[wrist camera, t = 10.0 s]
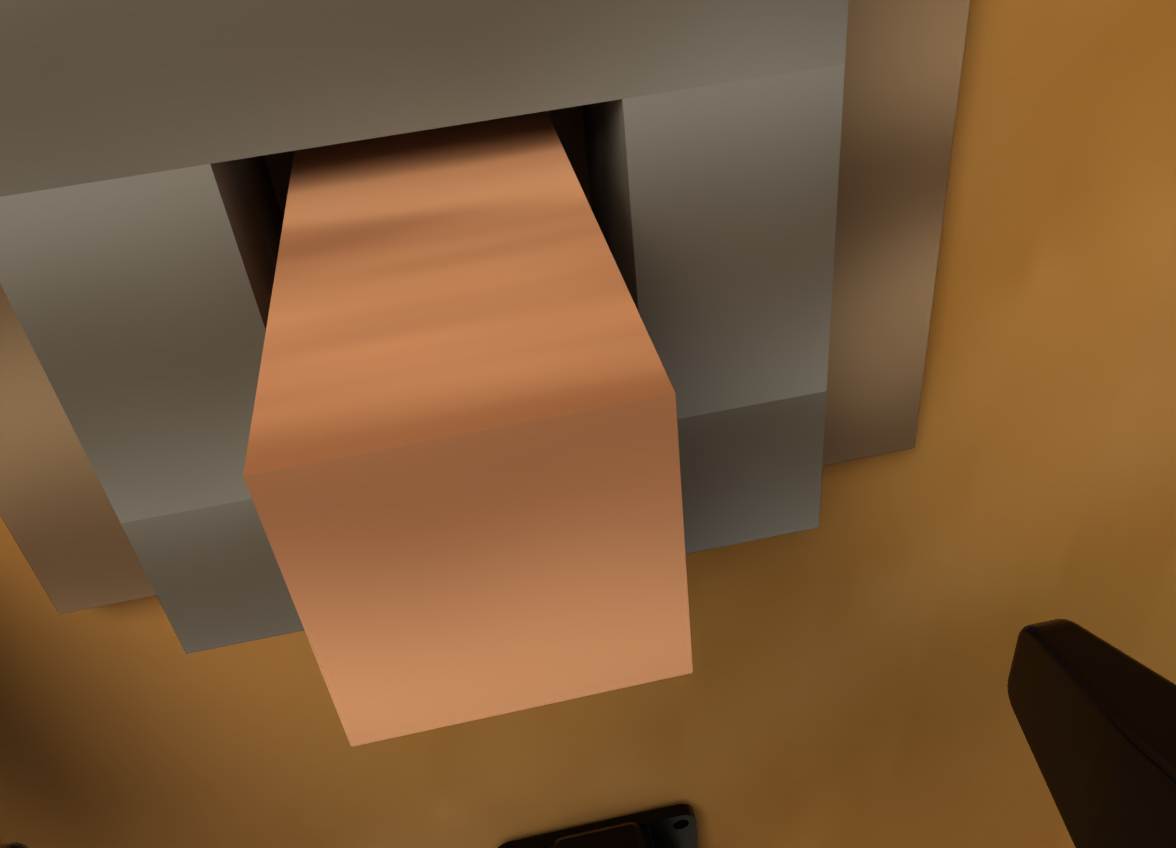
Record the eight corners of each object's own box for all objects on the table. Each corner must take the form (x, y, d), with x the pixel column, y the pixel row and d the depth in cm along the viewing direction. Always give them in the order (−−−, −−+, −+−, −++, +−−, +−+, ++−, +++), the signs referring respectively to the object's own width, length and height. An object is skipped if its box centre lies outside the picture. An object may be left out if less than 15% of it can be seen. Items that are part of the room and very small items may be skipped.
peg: (559, 281, 20) (692, 672, 12) (356, 318, 19) (351, 746, 11) (531, 78, 17) (675, 392, 9) (300, 115, 17) (242, 476, 9)
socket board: (896, 424, 25) (999, 561, 21) (69, 582, 23) (7, 766, 19) (987, -411, 15) (1208, -455, 11) (-406, -253, 14) (-731, -238, 10)
